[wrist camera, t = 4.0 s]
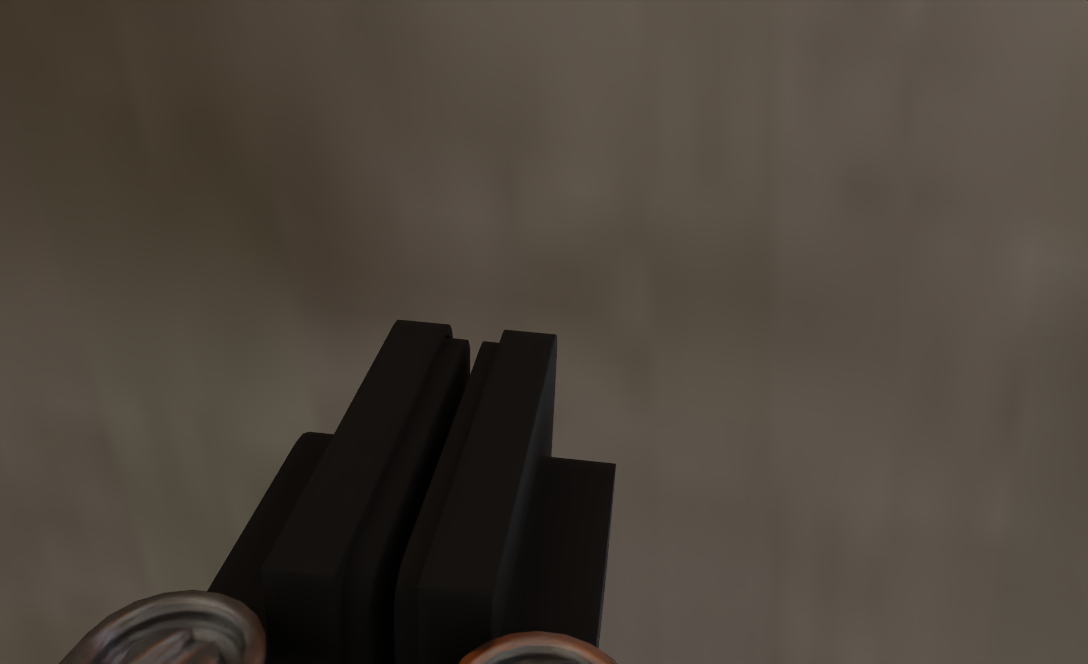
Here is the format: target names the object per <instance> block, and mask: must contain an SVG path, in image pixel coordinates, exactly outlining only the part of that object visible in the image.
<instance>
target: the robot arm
mask: <svg viewBox="0 0 1088 664" xmlns="http://www.w3.org/2000/svg"><path fill="white" fill-rule="evenodd" d="M556 358H557V336H556V335H555V334H544V333H534V332H523V331H512V330H504V332H503V334H502V337H501V340H500V343H496V342H485V341H484V342H483V343H482V344H481V347H480V350H479V352H478V355H477V358H476V361H475V363H474V366H473V369H472V371H471V374H470V345H469V341H468V340H464V339H454V338H453V335H452V328H451V326H450V325H448V324H438V323H427V322H416V321H406V320H397V321H396V322H395V324H394V325H393V327H392V329H391V331H390V333H389V334H388V336H387V338H386V340H385V342H384V344H383V345H382V347H381V349H380V351H379V353H378V355H377V356H376V358H375V360H374V362H373V364H372V366H371V367H370V369H369V371H368V373H367V375H366V377H365V378H364V380H363V382H362V384H361V386H360V388H359V390H358V391H357V393H356V395H355V397H354V399H353V401H352V402H351V404H350V406H349V408H348V410H347V412H346V413H345V415H344V417H343V419H342V421H341V423H340V424H339V426H338V428H337V430H336V432H335V434H325V433H316V432H307V433H304V434H302V435H301V437H300V438H299V439H298V440H297V442H296V443H295V445H294V446H293V448H292V450H291V452H290V453H289V455H288V457H287V458H286V460H285V462H284V463H283V465H282V467H281V468H280V470H279V472H278V473H277V475H276V477H275V478H274V480H273V482H272V483H271V485H270V487H269V488H268V490H267V492H266V493H265V495H264V497H263V498H262V500H261V502H260V504H259V505H258V507H257V509H256V510H255V512H254V514H253V515H252V517H251V519H250V520H249V522H248V524H247V525H246V527H245V529H244V530H243V532H242V534H241V535H240V537H239V539H238V540H237V542H236V544H235V545H234V547H233V549H232V551H231V552H230V554H229V556H228V557H227V559H226V561H225V562H224V564H223V566H222V567H221V569H220V571H219V572H218V574H217V576H216V577H215V579H214V581H213V582H212V584H211V586H210V587H209V589H208V591H198V590H187V591H177V592H167V593H162V594H158V595H155V596H152V597H149V598H145V599H142V600H139V601H135V602H133V603H131V604H129V605H128V606H126V607H124V608H122V609H120V610H118V611H116V612H114V613H112V614H110V615H109V616H107V617H106V618H105V619H104V620H103V621H101V622H100V623H99V624H98V625H97V626H95V627H94V628H93V629H92V630H91V631H89V632H88V633H87V634H86V635H85V636H84V637H83V638H82V639H81V640H80V641H79V643H78V644H77V645H76V646H75V647H74V648H73V649H72V650H71V651H70V652H69V653H68V654H67V655H66V656H65V658H64V659H63V660H62V661H61V662H60V663H59V664H617V663H616V662H615V661H614V659H612V658H611V657H609V656H608V655H606V654H605V653H604V652H602V651H601V650H599V649H598V647H599V638H600V628H601V618H602V609H603V599H604V589H605V579H606V568H607V558H608V547H609V537H610V526H611V514H612V503H613V492H614V481H615V469H616V464H613V463H603V462H593V461H584V460H574V459H565V458H555V457H551V451H552V433H553V414H554V396H555V377H556Z"/></svg>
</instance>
